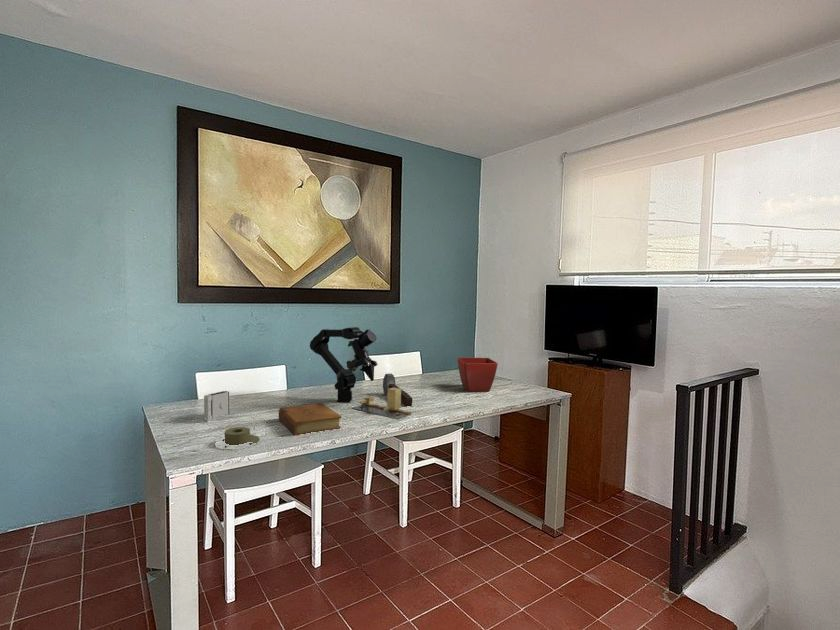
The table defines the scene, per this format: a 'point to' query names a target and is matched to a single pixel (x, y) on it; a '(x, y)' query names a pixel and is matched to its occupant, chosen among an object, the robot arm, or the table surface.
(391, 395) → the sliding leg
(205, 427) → the table surface
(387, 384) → the hammer
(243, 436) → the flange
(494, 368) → the plant pot
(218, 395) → the grey rectangular block
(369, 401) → the trammel bar
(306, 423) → the diary
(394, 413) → the bolt strip
